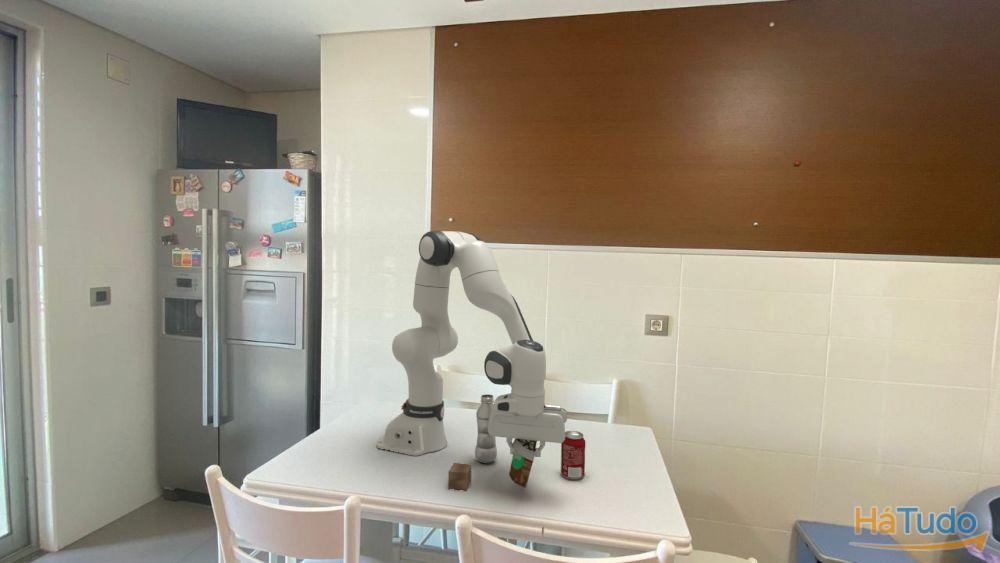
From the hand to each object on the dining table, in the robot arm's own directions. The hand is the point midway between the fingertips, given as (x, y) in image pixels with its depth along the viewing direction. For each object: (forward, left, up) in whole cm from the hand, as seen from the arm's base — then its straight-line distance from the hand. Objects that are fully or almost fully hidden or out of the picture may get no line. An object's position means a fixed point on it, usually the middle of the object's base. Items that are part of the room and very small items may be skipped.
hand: (525, 454), depth 118 cm
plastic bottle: (-14, +16, -10) cm, 23 cm away
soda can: (+12, +12, -10) cm, 20 cm away
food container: (-2, 0, -6) cm, 6 cm away
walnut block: (-18, 0, -10) cm, 20 cm away
